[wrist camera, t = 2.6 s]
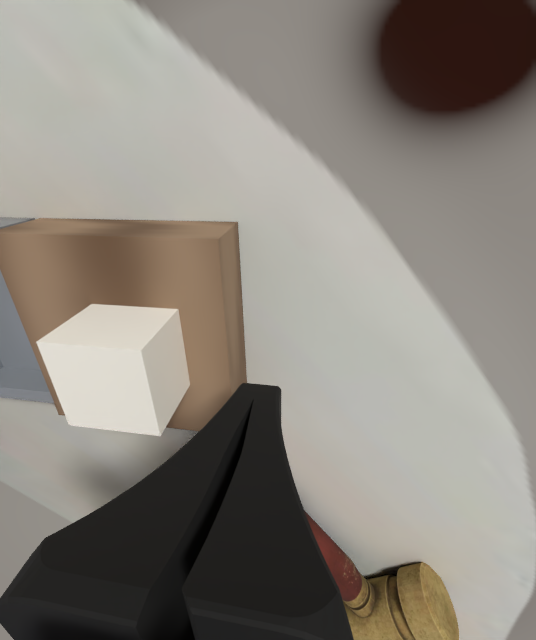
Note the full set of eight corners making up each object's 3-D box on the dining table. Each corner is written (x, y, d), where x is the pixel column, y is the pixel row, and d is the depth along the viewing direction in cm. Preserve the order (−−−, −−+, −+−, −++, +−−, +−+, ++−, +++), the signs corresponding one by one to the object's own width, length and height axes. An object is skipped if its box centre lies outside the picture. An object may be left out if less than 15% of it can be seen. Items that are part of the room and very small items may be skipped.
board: (92, 380, 21) (59, 414, 19) (39, 218, 17) (-15, 232, 14) (247, 396, 20) (234, 435, 17) (237, 221, 15) (218, 239, 12)
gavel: (144, 498, 21) (262, 441, 17) (176, 444, 25) (278, 387, 21) (337, 675, 26) (468, 663, 22) (338, 605, 30) (449, 584, 26)
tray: (2, 372, 22) (-29, 394, 20) (-71, 216, 18) (-120, 225, 16) (88, 380, 21) (64, 404, 19) (34, 218, 17) (-5, 228, 15)
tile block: (112, 377, 17) (68, 425, 14) (91, 303, 15) (36, 341, 12) (190, 384, 16) (160, 436, 13) (178, 309, 14) (141, 350, 11)
